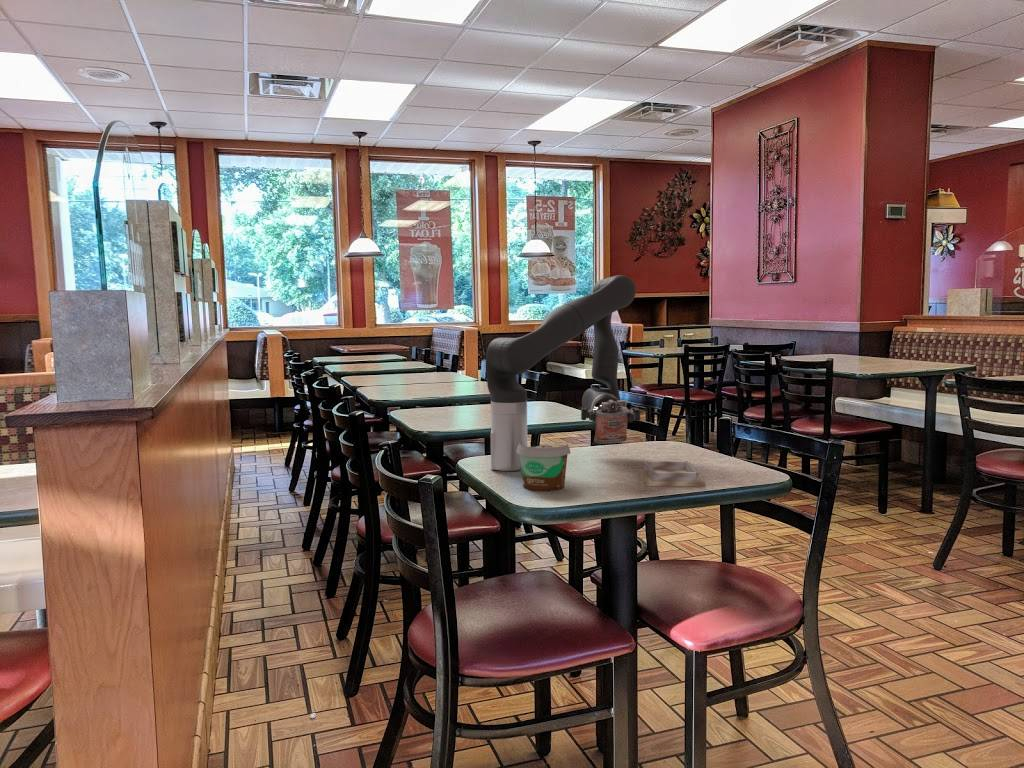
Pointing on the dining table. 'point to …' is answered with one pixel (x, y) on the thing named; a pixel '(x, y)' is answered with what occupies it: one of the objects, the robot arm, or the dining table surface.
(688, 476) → the tray
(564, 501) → the dining table surface
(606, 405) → the lighter
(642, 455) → the dining table surface
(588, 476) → the dining table surface
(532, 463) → the food container
